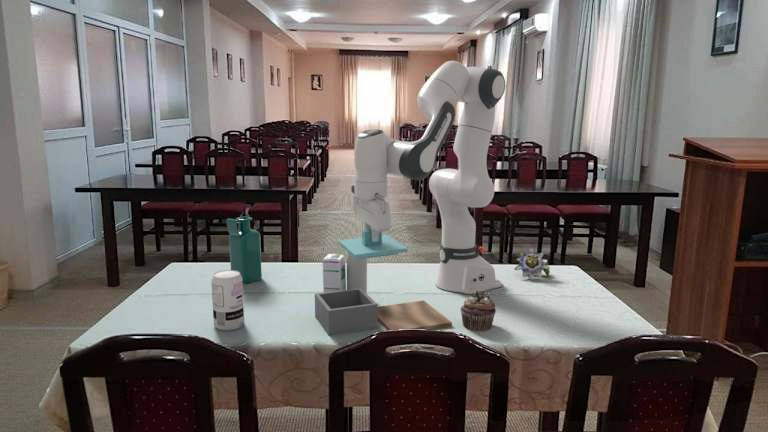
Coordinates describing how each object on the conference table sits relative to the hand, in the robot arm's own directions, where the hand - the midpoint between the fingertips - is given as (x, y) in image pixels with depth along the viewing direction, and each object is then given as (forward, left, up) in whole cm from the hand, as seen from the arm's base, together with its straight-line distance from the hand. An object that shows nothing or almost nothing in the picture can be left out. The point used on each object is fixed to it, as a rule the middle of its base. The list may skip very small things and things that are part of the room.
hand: (372, 239), depth 160 cm
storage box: (+7, -1, -24) cm, 25 cm away
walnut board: (-11, +3, -24) cm, 26 cm away
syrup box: (+5, -18, -24) cm, 31 cm away
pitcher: (+28, -48, -24) cm, 61 cm away
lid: (0, 0, -3) cm, 3 cm away
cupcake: (-27, +14, -24) cm, 38 cm away
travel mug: (-2, -17, -24) cm, 30 cm away
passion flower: (-68, -18, -24) cm, 74 cm away
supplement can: (+38, -10, -24) cm, 47 cm away
